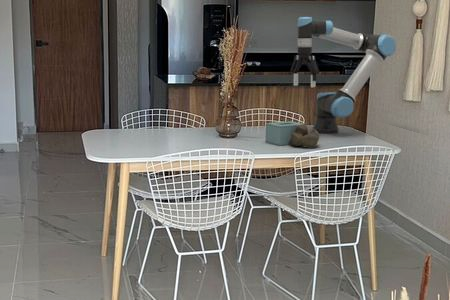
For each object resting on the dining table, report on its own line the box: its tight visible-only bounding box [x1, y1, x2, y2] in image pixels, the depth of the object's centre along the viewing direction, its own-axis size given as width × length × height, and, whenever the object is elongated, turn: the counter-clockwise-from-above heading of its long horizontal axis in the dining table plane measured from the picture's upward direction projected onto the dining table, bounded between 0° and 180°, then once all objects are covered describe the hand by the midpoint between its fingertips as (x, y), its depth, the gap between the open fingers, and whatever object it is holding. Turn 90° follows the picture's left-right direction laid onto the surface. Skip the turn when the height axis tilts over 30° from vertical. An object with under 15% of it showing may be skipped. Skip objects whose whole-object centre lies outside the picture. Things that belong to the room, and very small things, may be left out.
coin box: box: [264, 120, 306, 147], centre depth 308 cm, size 16×12×10 cm
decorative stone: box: [289, 124, 320, 149], centre depth 299 cm, size 16×11×15 cm
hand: (304, 86), depth 322 cm, fingers open, 13 cm apart
